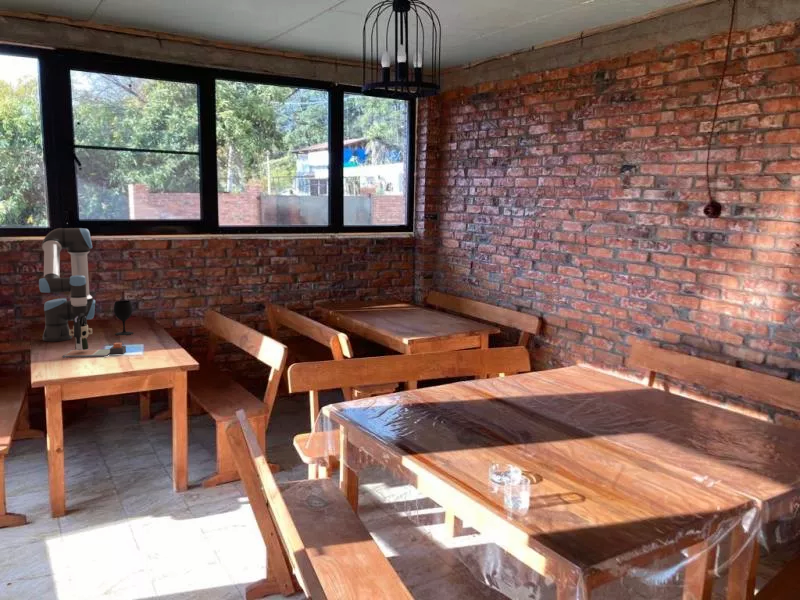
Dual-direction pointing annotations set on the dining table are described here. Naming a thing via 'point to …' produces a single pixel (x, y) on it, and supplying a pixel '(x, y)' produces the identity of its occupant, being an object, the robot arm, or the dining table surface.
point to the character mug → (83, 335)
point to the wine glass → (123, 314)
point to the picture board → (87, 353)
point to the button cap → (117, 345)
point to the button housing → (117, 350)
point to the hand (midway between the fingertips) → (81, 347)
